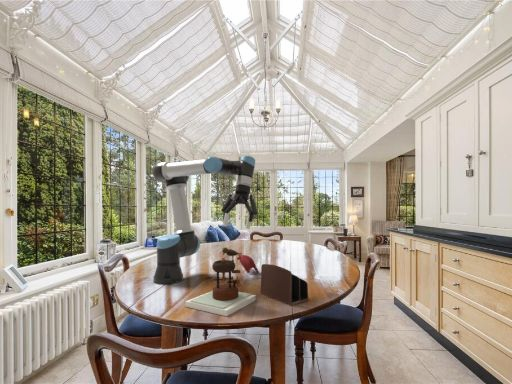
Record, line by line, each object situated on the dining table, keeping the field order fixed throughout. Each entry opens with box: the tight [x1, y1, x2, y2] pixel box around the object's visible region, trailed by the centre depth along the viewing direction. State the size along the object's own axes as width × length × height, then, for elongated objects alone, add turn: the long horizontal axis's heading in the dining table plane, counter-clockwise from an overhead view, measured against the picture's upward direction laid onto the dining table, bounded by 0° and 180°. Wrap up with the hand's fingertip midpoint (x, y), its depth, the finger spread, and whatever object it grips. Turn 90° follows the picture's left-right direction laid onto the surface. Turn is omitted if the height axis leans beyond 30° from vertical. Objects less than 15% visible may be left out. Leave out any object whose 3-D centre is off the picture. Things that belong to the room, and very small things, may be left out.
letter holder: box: [260, 263, 309, 307], centre depth 127 cm, size 10×20×14 cm, turn 36°
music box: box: [205, 247, 243, 301], centre depth 119 cm, size 15×11×20 cm
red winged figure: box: [236, 254, 260, 274], centre depth 171 cm, size 28×9×15 cm
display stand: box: [184, 290, 257, 317], centre depth 119 cm, size 20×20×2 cm
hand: (235, 227), depth 144 cm, fingers open, 13 cm apart
